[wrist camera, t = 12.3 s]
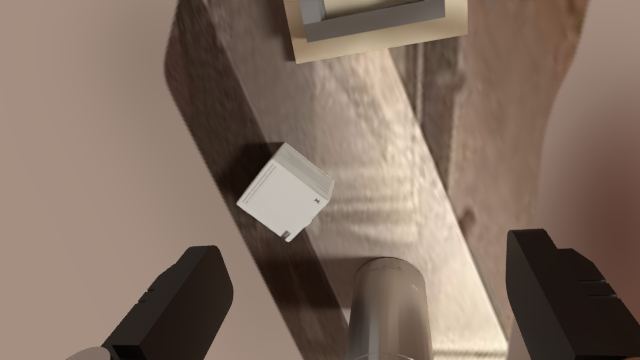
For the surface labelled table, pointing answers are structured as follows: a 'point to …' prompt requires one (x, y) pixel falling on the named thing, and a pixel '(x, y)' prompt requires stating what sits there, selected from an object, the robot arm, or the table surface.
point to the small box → (287, 193)
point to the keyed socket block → (369, 25)
